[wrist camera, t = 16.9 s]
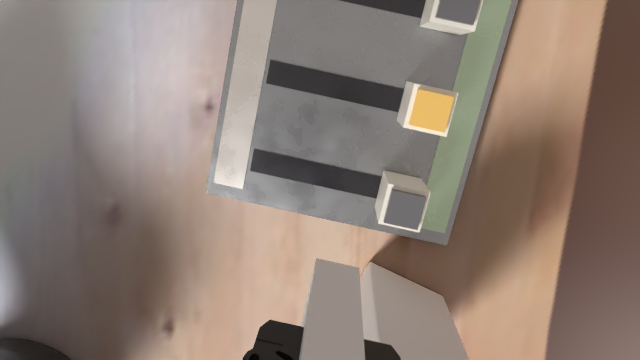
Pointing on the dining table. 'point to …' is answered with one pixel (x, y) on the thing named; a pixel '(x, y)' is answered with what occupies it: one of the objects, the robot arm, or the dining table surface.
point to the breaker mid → (426, 108)
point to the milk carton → (407, 317)
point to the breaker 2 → (451, 15)
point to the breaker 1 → (401, 201)
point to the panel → (349, 106)
